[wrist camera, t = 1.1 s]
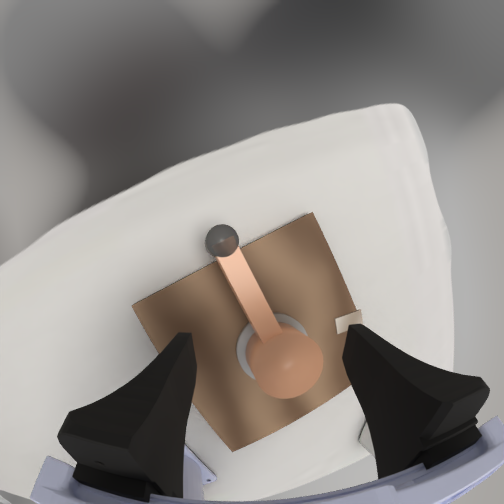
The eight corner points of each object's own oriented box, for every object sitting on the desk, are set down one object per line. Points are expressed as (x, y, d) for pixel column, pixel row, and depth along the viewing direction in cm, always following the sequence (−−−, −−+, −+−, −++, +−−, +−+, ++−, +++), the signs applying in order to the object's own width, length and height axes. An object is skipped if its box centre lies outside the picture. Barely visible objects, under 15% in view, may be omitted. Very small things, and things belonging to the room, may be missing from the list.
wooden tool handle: (312, 358, 23) (332, 374, 19) (262, 388, 22) (274, 410, 18) (241, 216, 22) (250, 207, 18) (183, 246, 21) (179, 243, 17)
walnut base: (230, 445, 23) (233, 457, 21) (134, 303, 22) (128, 307, 20) (373, 360, 27) (384, 366, 25) (310, 212, 26) (320, 208, 24)
